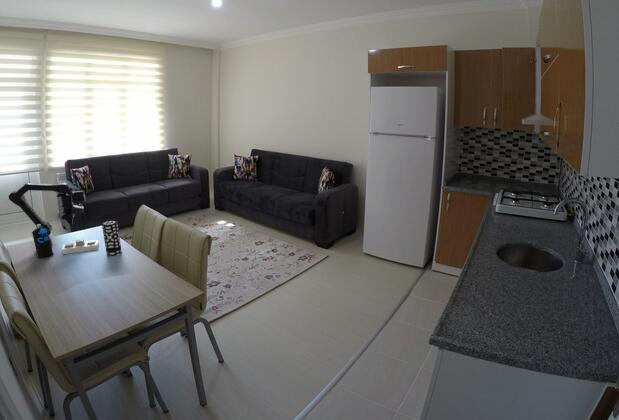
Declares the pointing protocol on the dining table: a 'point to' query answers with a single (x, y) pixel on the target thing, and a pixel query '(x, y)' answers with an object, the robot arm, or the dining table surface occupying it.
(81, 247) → the keypad
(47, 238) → the aerosol can
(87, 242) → the key far
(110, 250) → the spotted tube
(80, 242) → the key middle
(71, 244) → the key near
